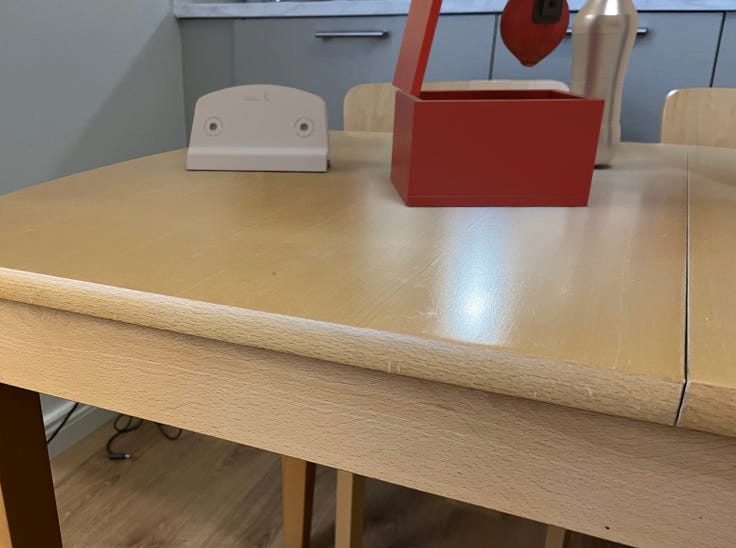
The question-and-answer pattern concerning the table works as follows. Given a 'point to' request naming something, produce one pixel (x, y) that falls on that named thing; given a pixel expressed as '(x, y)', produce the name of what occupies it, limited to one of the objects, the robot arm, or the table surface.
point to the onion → (530, 32)
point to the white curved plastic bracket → (260, 131)
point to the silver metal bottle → (603, 62)
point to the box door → (416, 45)
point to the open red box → (495, 147)
